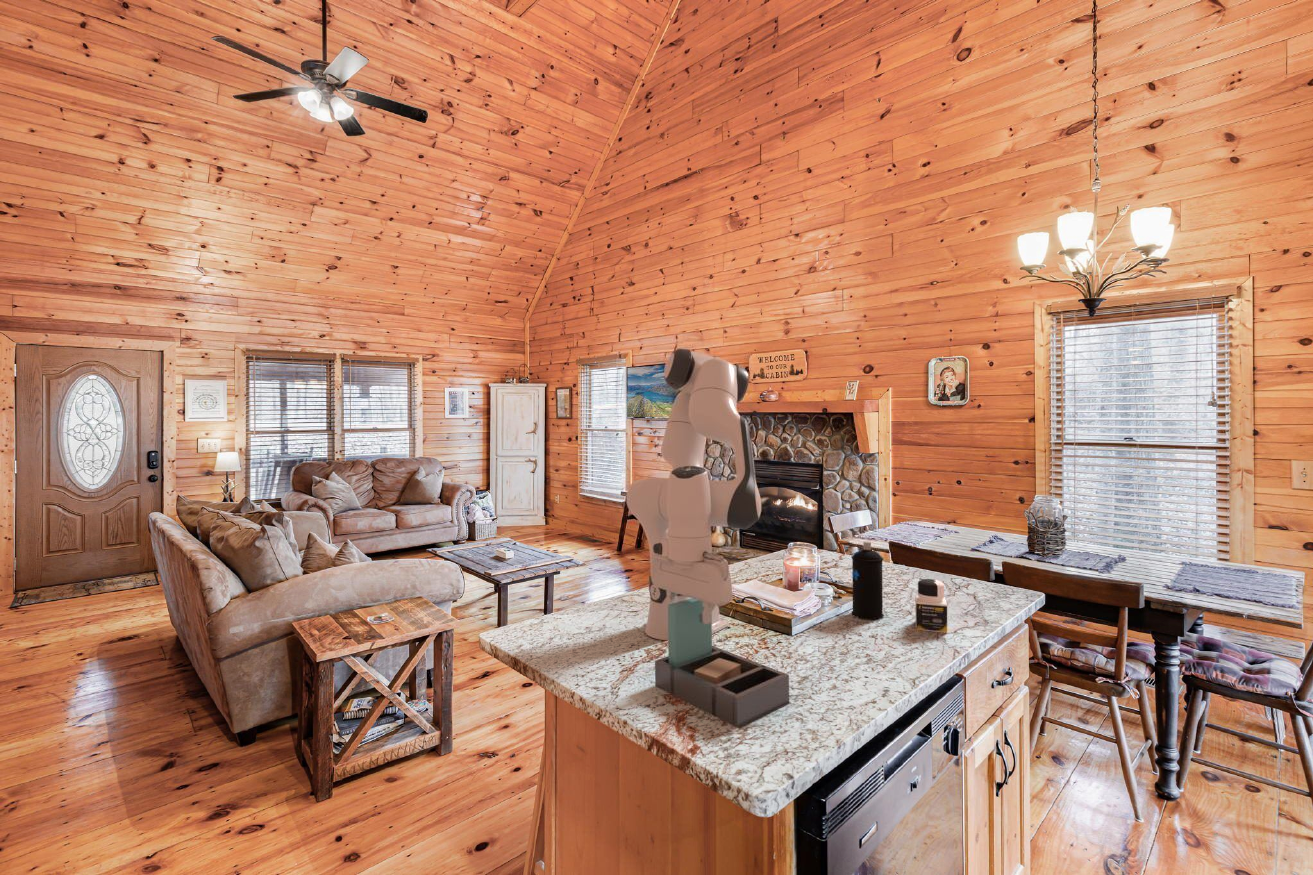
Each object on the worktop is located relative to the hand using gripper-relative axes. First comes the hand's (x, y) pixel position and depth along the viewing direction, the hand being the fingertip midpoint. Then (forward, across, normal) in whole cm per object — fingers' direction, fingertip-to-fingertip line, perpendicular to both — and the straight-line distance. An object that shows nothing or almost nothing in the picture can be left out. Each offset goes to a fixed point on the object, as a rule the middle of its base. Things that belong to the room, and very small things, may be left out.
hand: (690, 617), depth 119 cm
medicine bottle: (+14, -15, -70) cm, 73 cm away
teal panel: (+13, 0, 0) cm, 13 cm away
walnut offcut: (+10, -8, 0) cm, 13 cm away
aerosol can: (+14, +1, -67) cm, 69 cm away
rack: (+14, -9, 0) cm, 17 cm away
